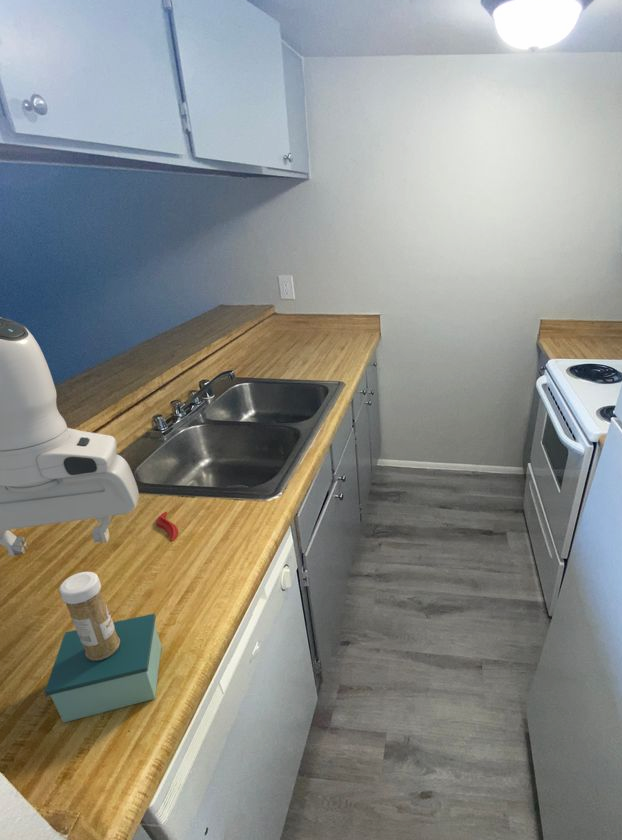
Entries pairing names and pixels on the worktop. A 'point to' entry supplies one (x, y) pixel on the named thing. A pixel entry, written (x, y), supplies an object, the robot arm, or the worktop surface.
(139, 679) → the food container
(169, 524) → the cayenne pepper
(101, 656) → the sprinkles bottle
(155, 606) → the worktop surface
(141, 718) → the worktop surface
